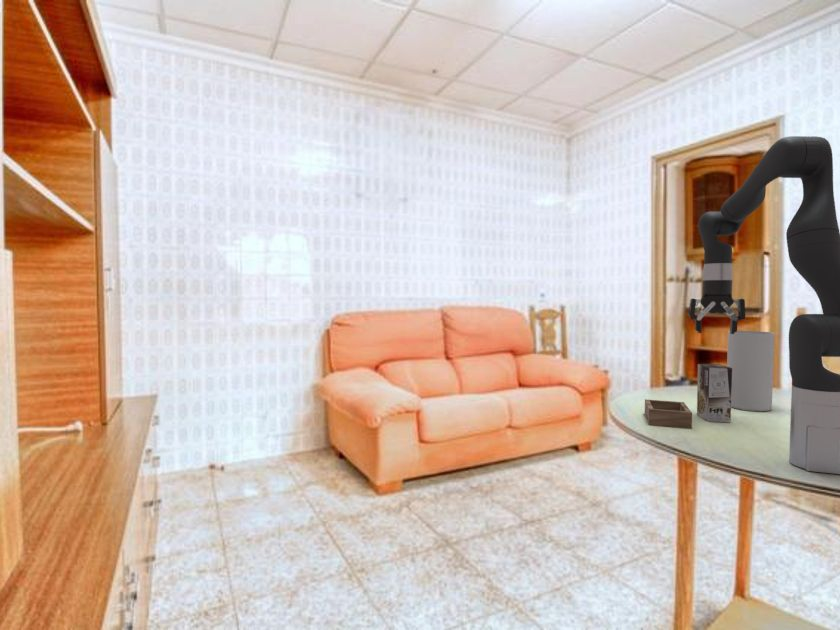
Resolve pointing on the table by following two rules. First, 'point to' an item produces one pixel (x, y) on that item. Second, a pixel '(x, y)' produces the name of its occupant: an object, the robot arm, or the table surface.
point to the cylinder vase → (751, 369)
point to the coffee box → (714, 392)
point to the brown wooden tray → (668, 414)
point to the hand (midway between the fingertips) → (715, 333)
